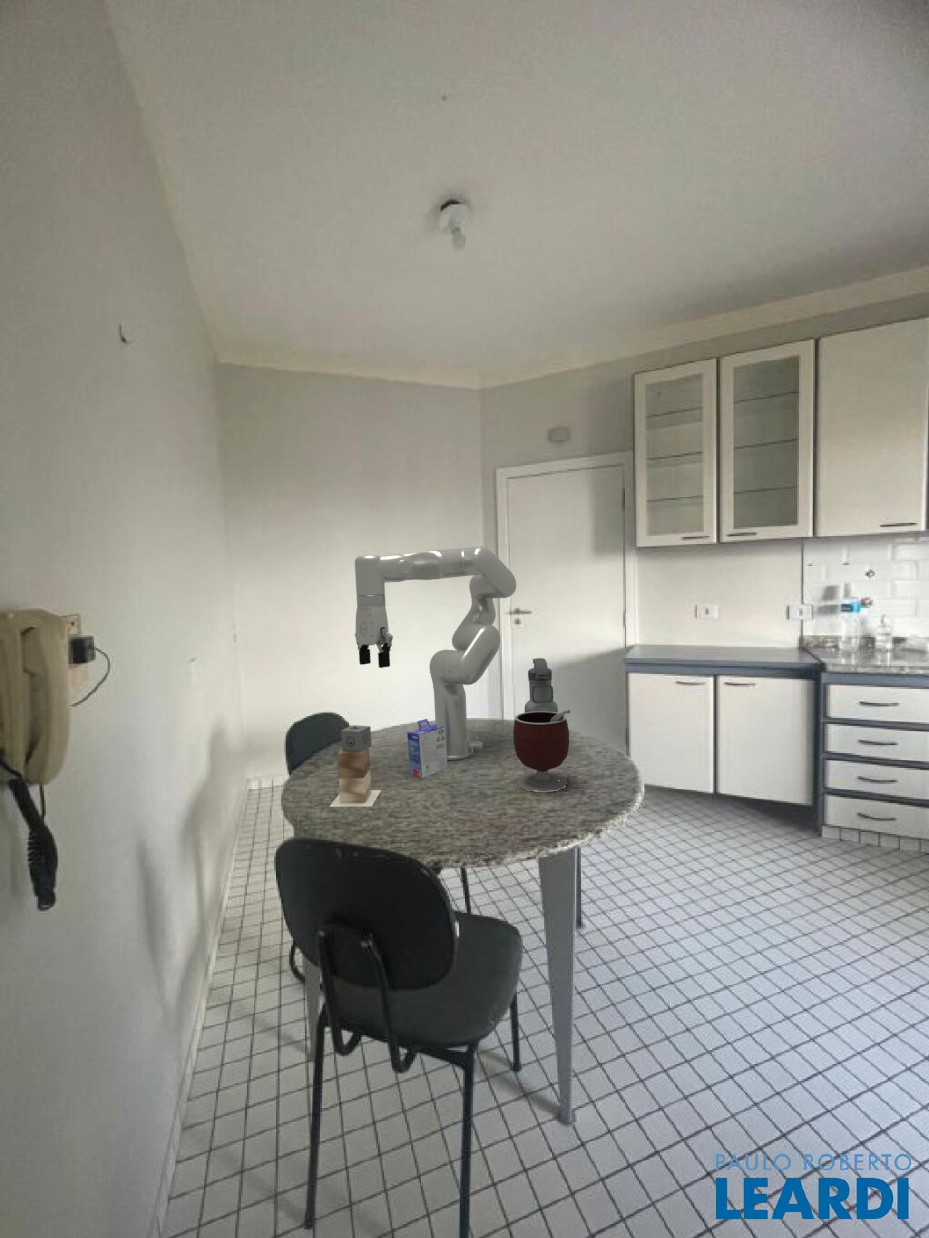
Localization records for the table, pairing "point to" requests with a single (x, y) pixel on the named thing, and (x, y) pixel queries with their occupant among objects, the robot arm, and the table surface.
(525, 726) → the mate gourd
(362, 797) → the beech block
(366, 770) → the walnut block
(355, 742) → the grey marked cube
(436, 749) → the ink cartridge box
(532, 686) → the water bottle
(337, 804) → the stone coaster
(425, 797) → the table surface
